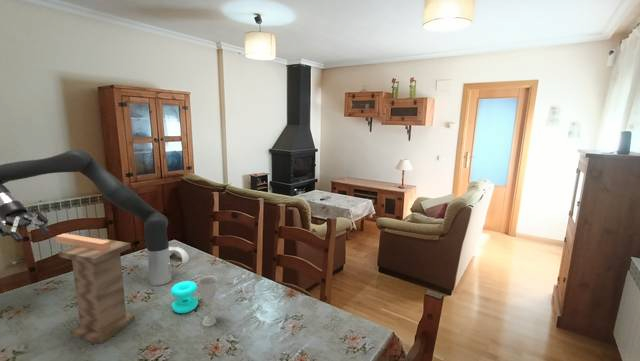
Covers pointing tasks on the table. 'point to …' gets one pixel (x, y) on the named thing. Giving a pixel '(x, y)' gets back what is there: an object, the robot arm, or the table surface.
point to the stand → (99, 291)
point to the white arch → (182, 253)
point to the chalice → (208, 296)
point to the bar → (83, 241)
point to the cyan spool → (184, 297)
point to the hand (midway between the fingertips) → (34, 237)
